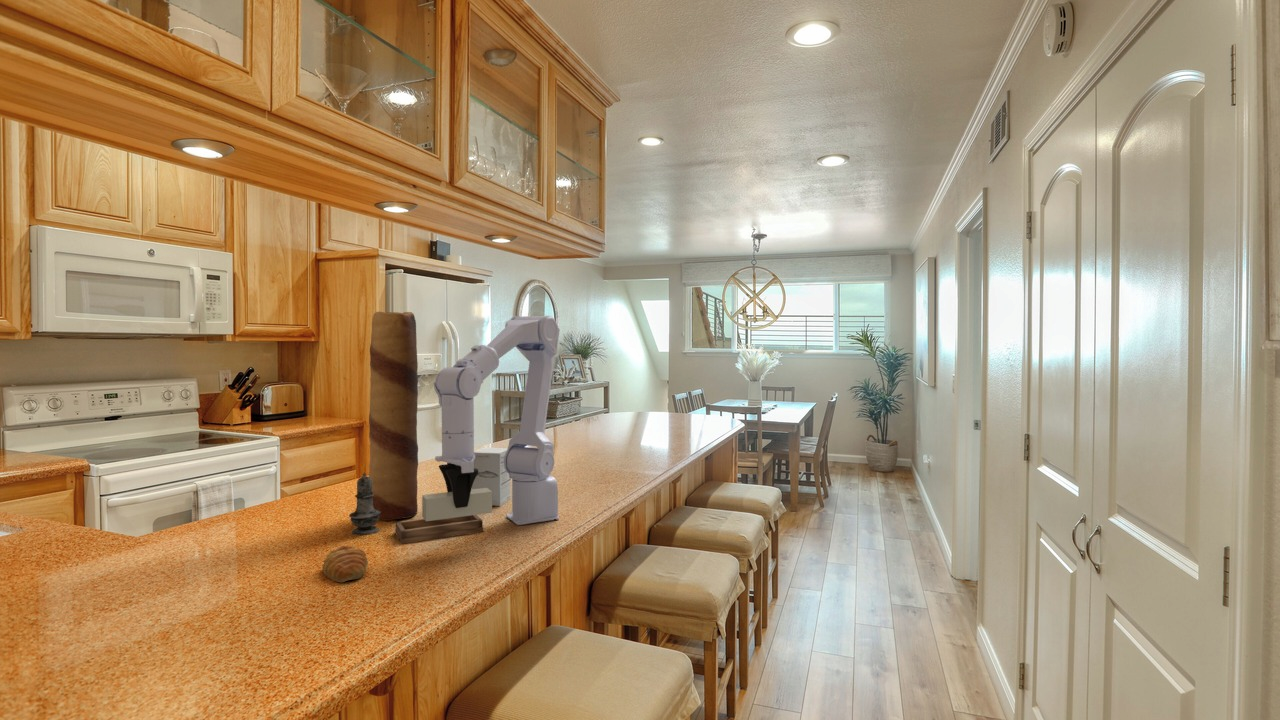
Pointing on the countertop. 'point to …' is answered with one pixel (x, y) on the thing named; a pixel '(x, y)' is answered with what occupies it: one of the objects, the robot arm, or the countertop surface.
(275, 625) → the countertop surface
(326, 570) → the pastry
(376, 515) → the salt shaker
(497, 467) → the supplement box
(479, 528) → the tray
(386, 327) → the wafer roll
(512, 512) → the robot arm
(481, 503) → the grey rectangular block
